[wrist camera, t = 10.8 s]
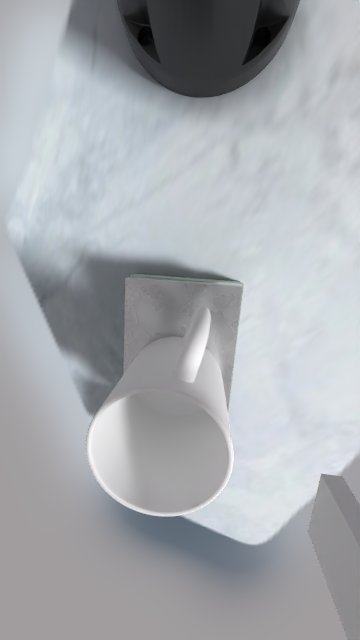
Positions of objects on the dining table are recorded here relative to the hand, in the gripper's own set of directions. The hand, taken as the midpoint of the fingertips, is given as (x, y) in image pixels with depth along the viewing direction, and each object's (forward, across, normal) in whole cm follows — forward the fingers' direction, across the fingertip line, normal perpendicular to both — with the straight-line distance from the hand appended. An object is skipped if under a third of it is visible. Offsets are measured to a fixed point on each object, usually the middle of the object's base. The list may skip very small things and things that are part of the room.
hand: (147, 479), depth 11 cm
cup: (+14, 0, 0) cm, 14 cm away
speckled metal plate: (+17, 0, -1) cm, 17 cm away
